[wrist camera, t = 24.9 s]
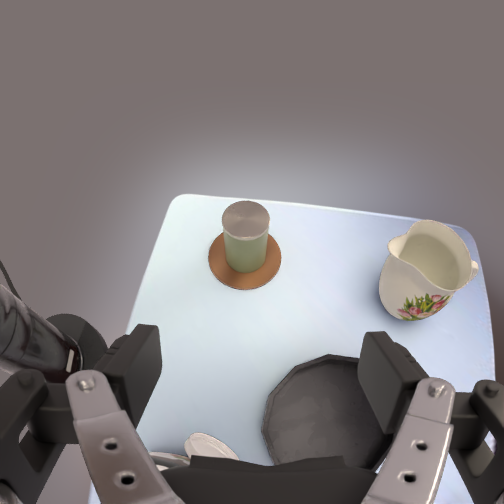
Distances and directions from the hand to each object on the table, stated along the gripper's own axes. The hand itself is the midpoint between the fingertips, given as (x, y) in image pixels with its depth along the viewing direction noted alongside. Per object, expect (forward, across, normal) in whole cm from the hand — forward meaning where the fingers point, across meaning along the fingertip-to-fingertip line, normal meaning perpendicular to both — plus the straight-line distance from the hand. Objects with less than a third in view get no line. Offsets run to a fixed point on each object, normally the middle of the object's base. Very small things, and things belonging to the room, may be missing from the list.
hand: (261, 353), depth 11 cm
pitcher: (+32, -24, +10) cm, 41 cm away
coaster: (+36, +2, +5) cm, 37 cm away
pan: (+18, -15, +23) cm, 33 cm away
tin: (+36, +1, +5) cm, 36 cm away
